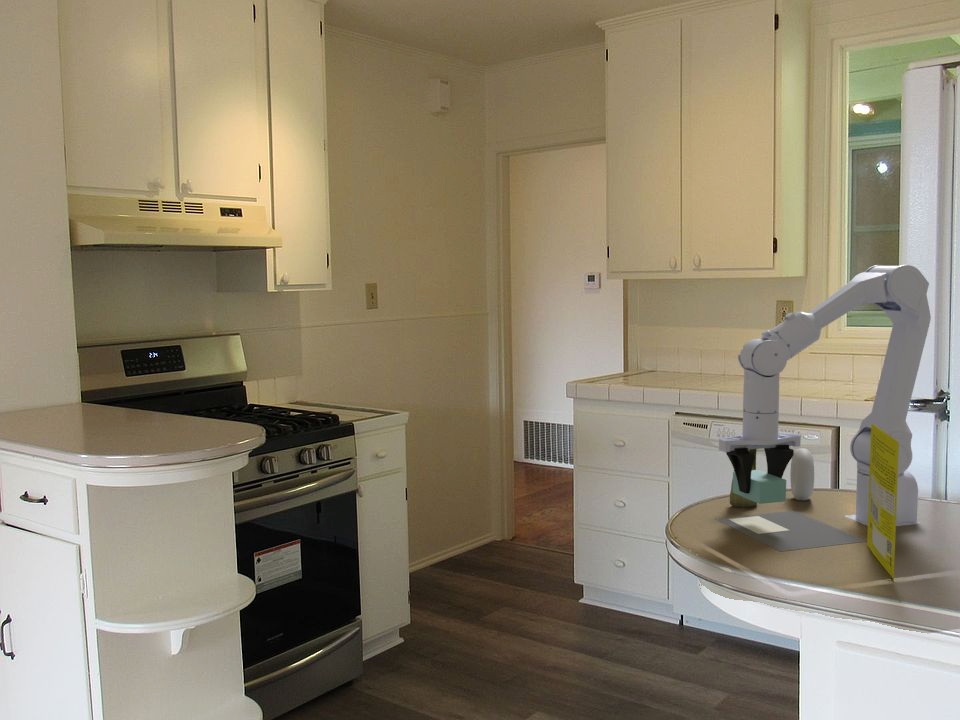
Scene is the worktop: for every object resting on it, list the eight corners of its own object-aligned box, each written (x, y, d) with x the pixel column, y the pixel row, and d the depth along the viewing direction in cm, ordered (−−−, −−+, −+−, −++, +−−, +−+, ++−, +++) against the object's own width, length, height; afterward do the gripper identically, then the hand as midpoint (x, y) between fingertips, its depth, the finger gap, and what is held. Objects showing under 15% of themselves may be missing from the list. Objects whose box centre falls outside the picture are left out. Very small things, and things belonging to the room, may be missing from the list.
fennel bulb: (753, 503, 171) (754, 440, 170) (765, 510, 166) (766, 445, 165) (723, 505, 170) (724, 441, 169) (734, 512, 165) (735, 447, 164)
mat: (794, 514, 164) (794, 510, 163) (867, 544, 145) (867, 540, 145) (714, 522, 159) (714, 518, 159) (780, 555, 141) (780, 551, 141)
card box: (785, 501, 152) (786, 480, 151) (759, 503, 150) (759, 482, 150) (757, 490, 159) (758, 469, 159) (732, 492, 158) (733, 471, 157)
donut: (815, 508, 167) (816, 454, 166) (795, 507, 168) (796, 453, 167) (807, 494, 177) (808, 443, 176) (788, 493, 178) (789, 443, 177)
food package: (897, 583, 128) (902, 442, 126) (889, 582, 128) (894, 442, 126) (870, 549, 143) (875, 423, 141) (863, 549, 143) (867, 423, 141)
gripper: (783, 405, 159) (781, 482, 160) (709, 409, 155) (708, 488, 156) (809, 411, 152) (807, 491, 154) (732, 416, 148) (731, 498, 149)
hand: (758, 490), depth 154 cm, fingers closed on card box, 5 cm apart
